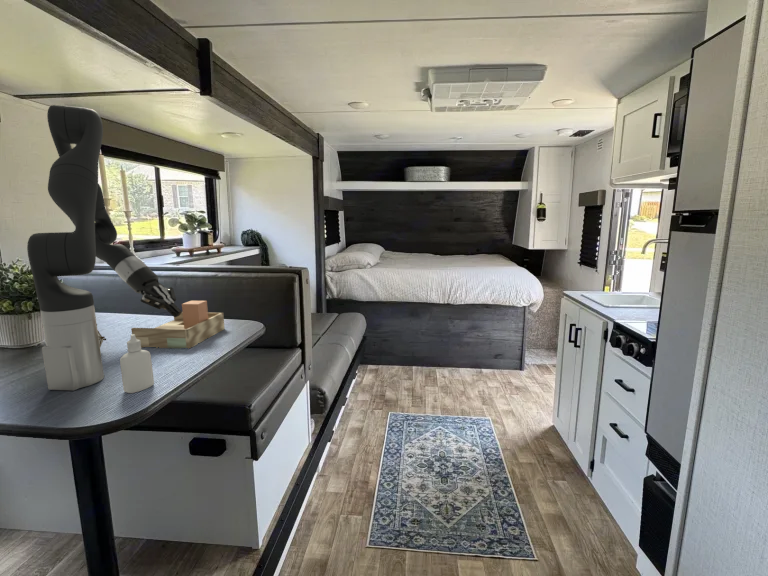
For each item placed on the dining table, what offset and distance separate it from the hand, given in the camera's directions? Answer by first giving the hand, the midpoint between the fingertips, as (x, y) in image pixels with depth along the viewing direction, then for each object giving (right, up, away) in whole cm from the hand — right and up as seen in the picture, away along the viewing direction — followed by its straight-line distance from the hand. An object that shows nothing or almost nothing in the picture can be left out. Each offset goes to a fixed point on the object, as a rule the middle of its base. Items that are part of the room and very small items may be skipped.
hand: (178, 314), depth 122 cm
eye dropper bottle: (+10, -14, -35) cm, 39 cm away
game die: (-17, -10, -14) cm, 24 cm away
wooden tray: (0, -7, +1) cm, 7 cm away
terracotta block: (+5, -4, 0) cm, 7 cm away
